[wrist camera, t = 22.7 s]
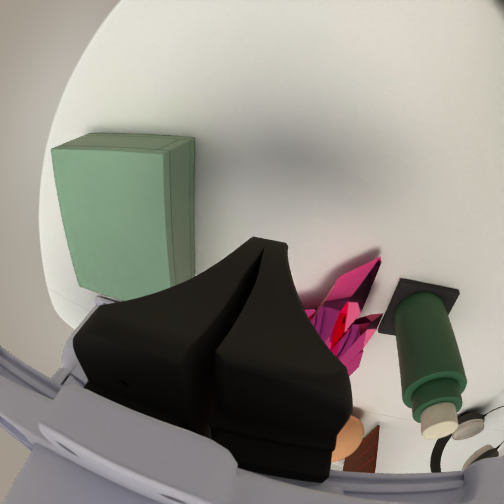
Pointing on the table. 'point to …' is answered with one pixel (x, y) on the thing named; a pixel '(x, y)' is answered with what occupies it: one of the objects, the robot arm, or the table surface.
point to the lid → (116, 218)
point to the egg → (348, 439)
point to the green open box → (179, 187)
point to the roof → (364, 454)
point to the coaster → (409, 288)
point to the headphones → (466, 429)
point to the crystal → (347, 315)
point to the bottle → (429, 363)
